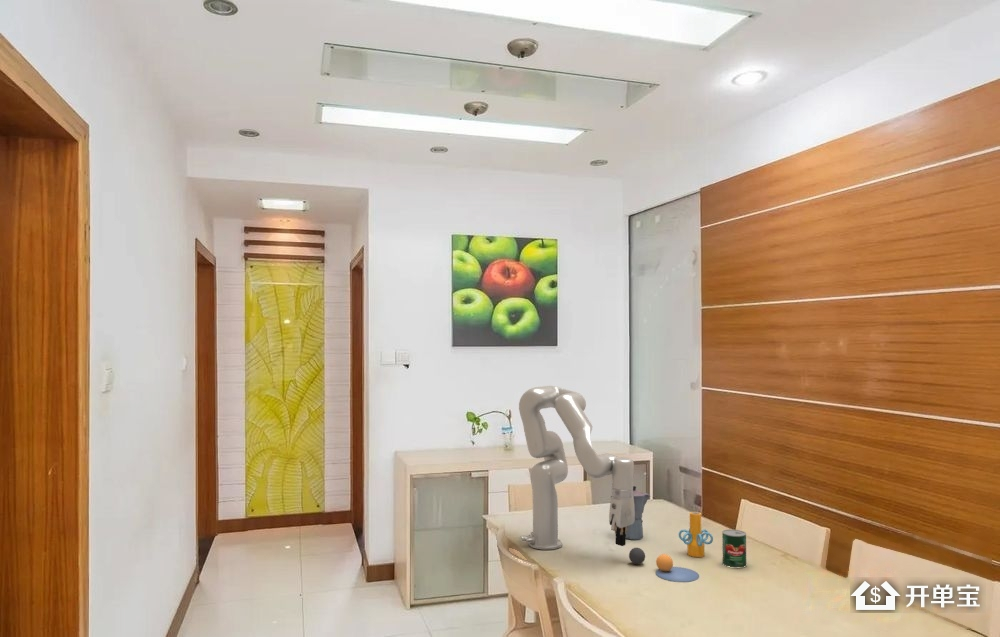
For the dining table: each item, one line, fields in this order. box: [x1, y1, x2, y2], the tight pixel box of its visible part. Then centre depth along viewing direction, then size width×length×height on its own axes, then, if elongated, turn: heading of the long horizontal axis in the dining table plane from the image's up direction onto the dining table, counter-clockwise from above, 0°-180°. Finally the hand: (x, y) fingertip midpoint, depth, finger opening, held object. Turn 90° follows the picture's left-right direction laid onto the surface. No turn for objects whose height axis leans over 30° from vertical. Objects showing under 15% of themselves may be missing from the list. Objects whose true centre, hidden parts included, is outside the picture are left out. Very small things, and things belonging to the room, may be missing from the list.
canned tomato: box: [721, 529, 747, 568], centre depth 234 cm, size 8×8×11 cm
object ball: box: [655, 553, 674, 572], centre depth 227 cm, size 6×6×6 cm
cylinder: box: [678, 511, 714, 558], centre depth 245 cm, size 12×10×15 cm
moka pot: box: [610, 485, 651, 540], centre depth 267 cm, size 10×15×20 cm, turn 89°
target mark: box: [655, 566, 700, 583], centre depth 224 cm, size 14×14×1 cm
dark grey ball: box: [628, 547, 646, 565], centre depth 235 cm, size 6×6×6 cm
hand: (620, 544), depth 239 cm, fingers closed
